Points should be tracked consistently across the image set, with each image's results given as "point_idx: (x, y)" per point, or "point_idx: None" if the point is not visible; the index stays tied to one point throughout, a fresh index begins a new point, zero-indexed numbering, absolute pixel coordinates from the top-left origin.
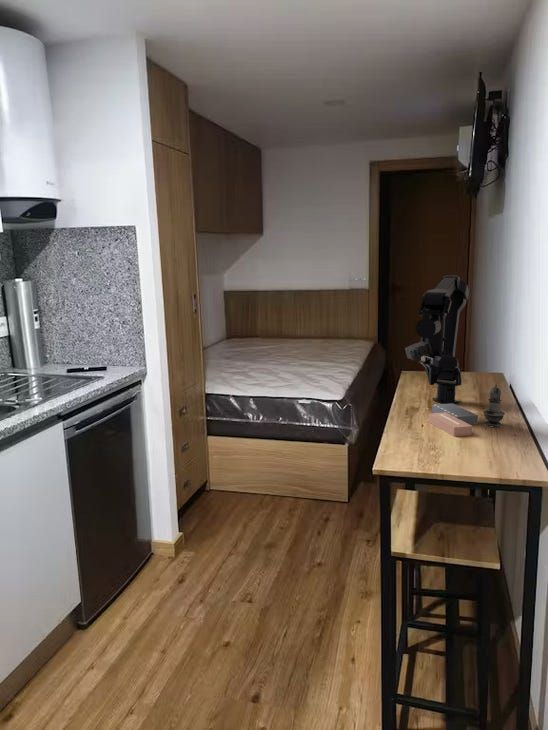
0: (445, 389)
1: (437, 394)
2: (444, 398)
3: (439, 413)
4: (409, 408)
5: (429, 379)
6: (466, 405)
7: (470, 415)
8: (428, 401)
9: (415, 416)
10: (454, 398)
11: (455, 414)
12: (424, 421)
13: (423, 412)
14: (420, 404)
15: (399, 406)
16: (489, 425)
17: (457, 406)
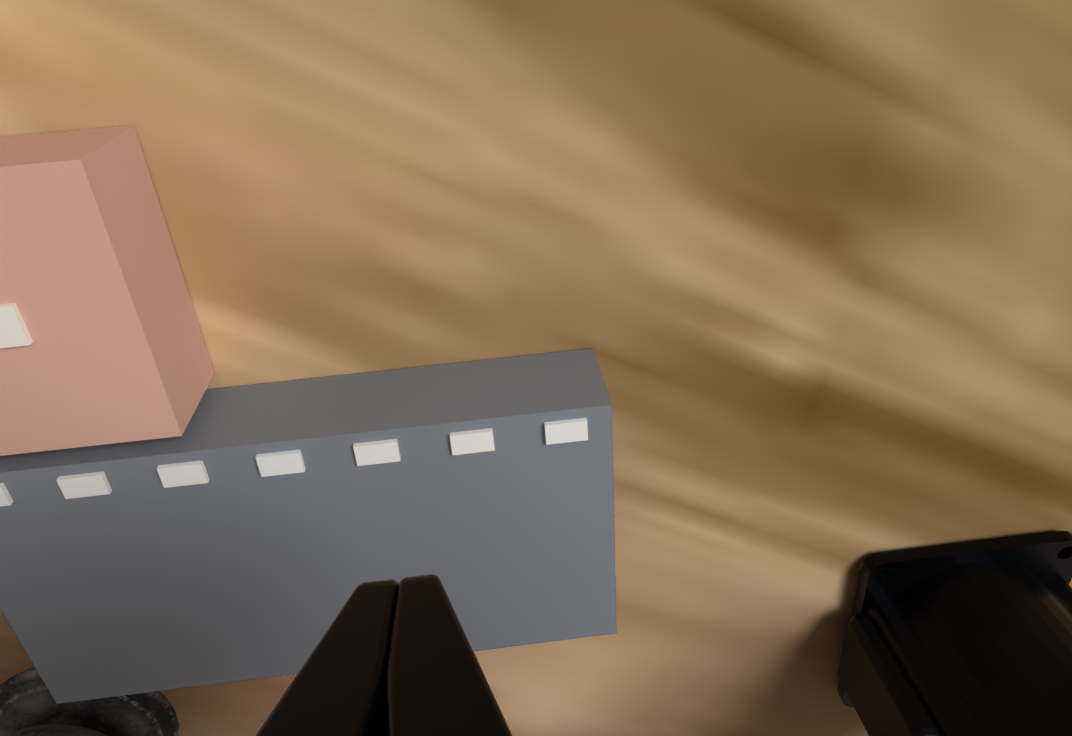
0: (970, 730)
1: (1033, 611)
2: (914, 628)
3: (107, 330)
4: (870, 125)
5: (359, 693)
6: (747, 720)
7: (41, 641)
8: (1037, 473)
9: (442, 38)
10: (853, 704)
11: (71, 510)
12: (153, 70)
13: (623, 244)
14: (974, 346)
15: (1032, 8)
16: (15, 690)
17: (471, 638)
